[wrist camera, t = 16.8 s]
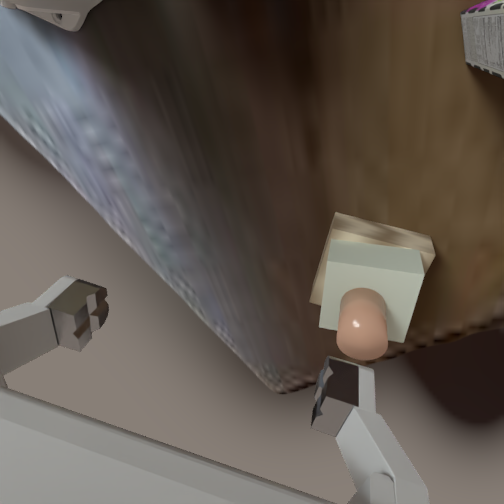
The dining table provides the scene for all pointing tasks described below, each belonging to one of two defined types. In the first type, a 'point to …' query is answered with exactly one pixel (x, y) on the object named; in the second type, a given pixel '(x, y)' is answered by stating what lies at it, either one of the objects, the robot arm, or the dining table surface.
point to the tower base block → (371, 234)
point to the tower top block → (373, 281)
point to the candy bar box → (485, 36)
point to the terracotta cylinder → (362, 324)
